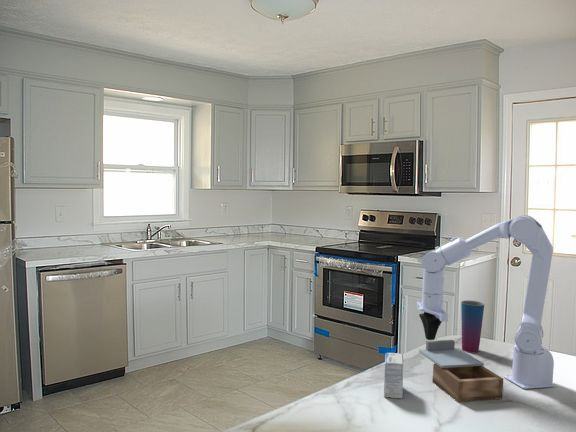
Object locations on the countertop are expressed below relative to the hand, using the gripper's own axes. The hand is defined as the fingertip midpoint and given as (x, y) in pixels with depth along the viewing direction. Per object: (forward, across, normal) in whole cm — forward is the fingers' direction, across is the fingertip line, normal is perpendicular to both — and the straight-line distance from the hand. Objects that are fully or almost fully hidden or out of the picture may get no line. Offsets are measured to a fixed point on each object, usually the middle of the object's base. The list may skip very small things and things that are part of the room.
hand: (430, 339), depth 144 cm
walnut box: (+7, +19, 0) cm, 20 cm away
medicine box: (+7, +17, -19) cm, 27 cm away
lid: (+2, +11, 0) cm, 11 cm away
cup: (+7, -9, +19) cm, 22 cm away
